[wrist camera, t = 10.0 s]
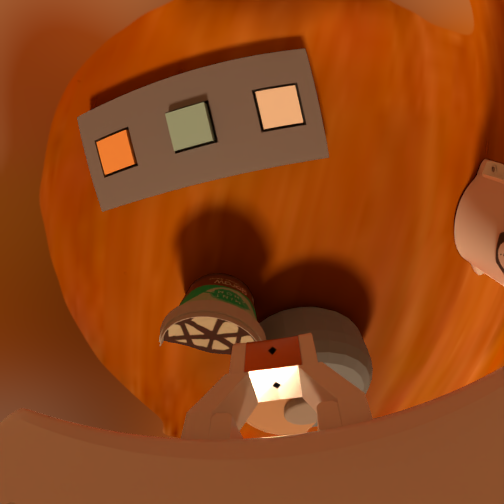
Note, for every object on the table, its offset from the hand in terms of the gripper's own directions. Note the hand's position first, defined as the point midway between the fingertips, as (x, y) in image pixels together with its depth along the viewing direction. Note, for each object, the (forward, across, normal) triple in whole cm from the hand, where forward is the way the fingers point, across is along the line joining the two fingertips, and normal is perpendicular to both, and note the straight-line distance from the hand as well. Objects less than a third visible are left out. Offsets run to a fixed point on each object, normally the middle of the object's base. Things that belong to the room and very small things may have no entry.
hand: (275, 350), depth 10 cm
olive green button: (+21, -6, +10) cm, 24 cm away
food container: (+24, -7, -10) cm, 27 cm away
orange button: (+22, -15, +10) cm, 28 cm away
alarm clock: (+24, +1, -24) cm, 34 cm away
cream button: (+22, +3, +10) cm, 25 cm away
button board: (+24, -6, +10) cm, 26 cm away
